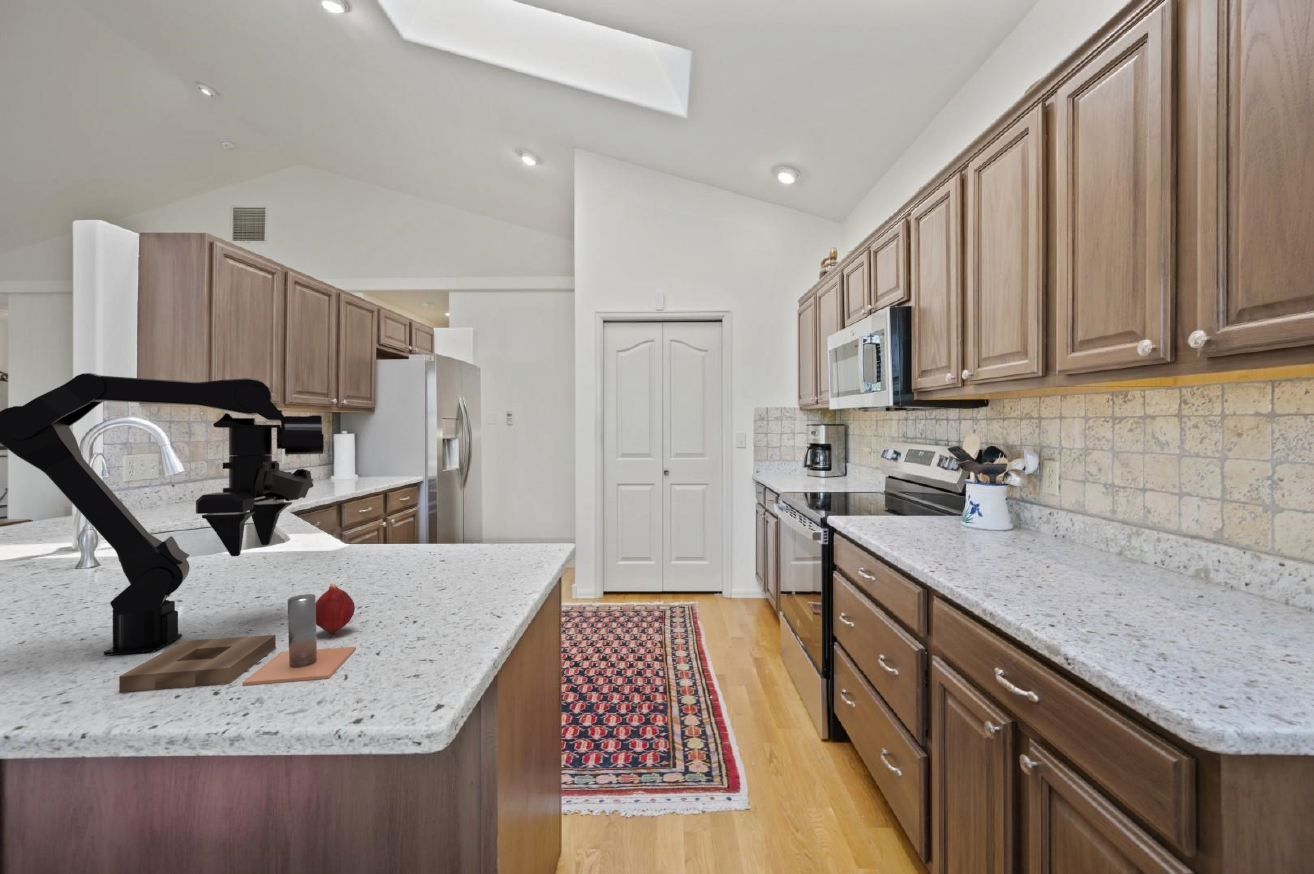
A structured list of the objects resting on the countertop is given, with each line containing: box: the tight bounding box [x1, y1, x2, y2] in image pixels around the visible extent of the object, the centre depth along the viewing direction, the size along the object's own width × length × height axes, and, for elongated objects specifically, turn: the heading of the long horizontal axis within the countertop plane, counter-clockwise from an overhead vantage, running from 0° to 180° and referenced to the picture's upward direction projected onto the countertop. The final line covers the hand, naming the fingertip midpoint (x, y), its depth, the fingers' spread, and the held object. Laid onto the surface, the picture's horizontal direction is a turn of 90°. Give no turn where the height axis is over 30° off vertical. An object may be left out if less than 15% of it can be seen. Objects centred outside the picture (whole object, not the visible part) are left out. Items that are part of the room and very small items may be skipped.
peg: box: [287, 593, 318, 668], centre depth 75 cm, size 3×3×9 cm
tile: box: [242, 646, 357, 686], centre depth 75 cm, size 10×10×1 cm
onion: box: [316, 582, 356, 635], centre depth 88 cm, size 6×6×8 cm
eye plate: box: [118, 634, 277, 693], centre depth 74 cm, size 12×12×2 cm
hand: (251, 550), depth 90 cm, fingers open, 9 cm apart
